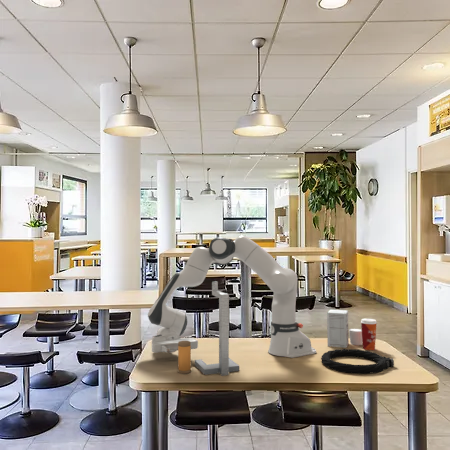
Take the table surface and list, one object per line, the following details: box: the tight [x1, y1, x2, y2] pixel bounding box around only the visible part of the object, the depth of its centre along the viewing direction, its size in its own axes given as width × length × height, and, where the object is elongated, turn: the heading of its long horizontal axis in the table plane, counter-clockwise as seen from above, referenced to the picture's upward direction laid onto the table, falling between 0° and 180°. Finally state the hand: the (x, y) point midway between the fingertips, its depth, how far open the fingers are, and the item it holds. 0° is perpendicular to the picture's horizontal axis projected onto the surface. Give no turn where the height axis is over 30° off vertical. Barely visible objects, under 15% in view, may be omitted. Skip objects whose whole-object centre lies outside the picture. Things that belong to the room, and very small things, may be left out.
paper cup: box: [360, 317, 378, 351], centre depth 219 cm, size 8×8×14 cm
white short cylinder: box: [348, 328, 363, 346], centre depth 229 cm, size 7×7×7 cm
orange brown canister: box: [177, 341, 192, 375], centre depth 184 cm, size 5×5×12 cm
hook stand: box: [211, 280, 230, 377], centre depth 186 cm, size 3×14×36 cm, turn 20°
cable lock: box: [320, 348, 395, 375], centre depth 194 cm, size 28×4×30 cm
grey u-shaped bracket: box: [194, 357, 240, 375], centre depth 189 cm, size 15×14×2 cm
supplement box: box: [326, 309, 350, 349], centre depth 226 cm, size 10×9×17 cm
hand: (178, 349), depth 191 cm, fingers open, 8 cm apart
